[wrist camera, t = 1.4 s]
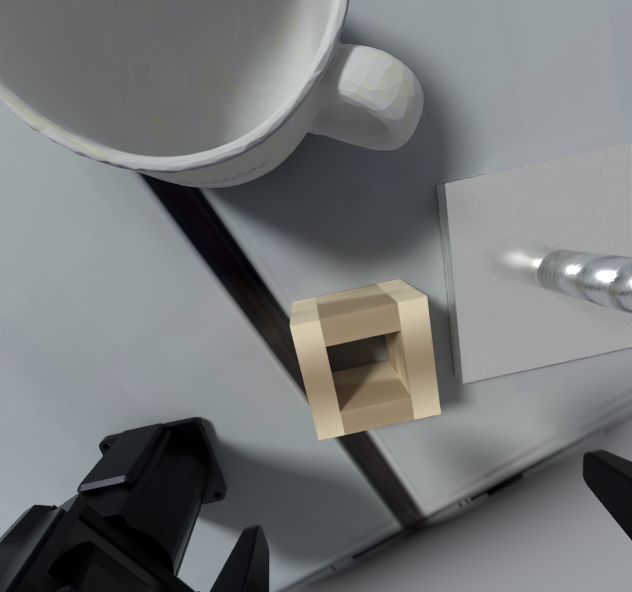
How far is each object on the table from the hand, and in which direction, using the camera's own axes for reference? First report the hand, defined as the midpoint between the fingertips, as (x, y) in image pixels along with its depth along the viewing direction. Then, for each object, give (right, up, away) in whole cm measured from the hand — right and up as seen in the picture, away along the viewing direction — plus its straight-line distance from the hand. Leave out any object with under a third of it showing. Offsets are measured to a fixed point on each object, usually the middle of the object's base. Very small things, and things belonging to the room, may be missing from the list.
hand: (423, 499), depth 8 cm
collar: (0, +3, +10) cm, 11 cm away
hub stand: (+11, +7, +10) cm, 16 cm away
